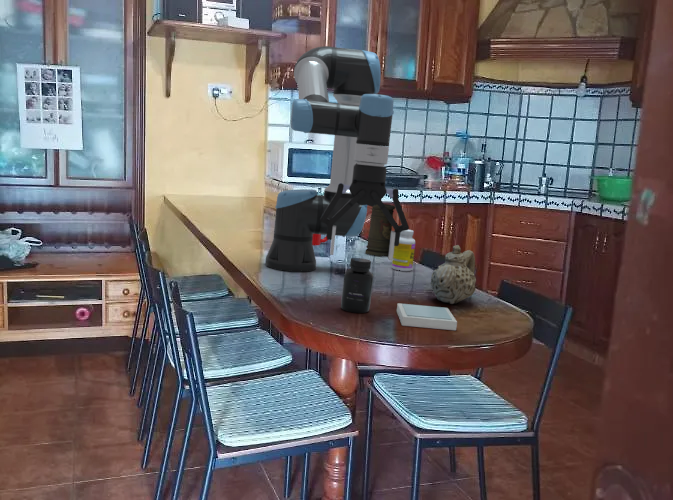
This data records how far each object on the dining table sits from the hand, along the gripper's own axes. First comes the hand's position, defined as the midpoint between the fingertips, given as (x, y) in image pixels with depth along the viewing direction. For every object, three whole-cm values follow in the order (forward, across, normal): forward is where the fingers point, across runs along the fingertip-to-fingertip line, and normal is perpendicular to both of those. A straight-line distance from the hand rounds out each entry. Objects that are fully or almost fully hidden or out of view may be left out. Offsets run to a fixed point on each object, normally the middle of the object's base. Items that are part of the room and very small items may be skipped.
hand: (360, 256), depth 151 cm
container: (+12, +11, +82) cm, 84 cm away
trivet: (+13, +16, -4) cm, 21 cm away
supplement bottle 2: (+12, +17, +58) cm, 61 cm away
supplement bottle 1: (+13, 0, 0) cm, 13 cm away
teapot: (+13, +26, +18) cm, 34 cm away
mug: (+12, -12, +94) cm, 95 cm away
